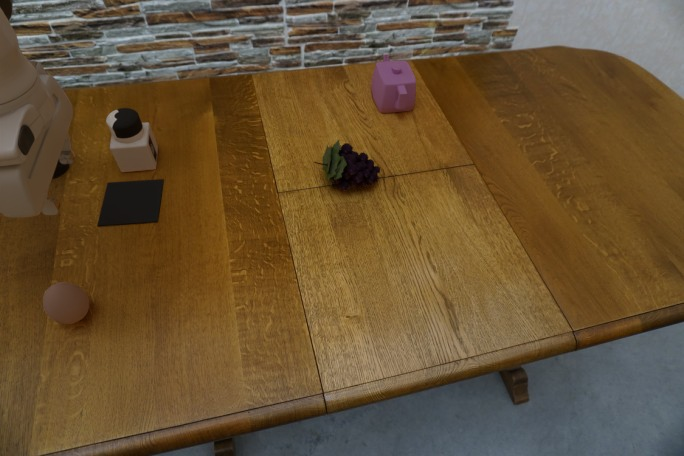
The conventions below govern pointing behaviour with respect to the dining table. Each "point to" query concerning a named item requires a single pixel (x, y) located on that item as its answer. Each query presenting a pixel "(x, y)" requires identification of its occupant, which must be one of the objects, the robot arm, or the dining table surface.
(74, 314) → the egg
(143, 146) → the container
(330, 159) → the fruit
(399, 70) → the teapot
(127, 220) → the mat
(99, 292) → the dining table surface
